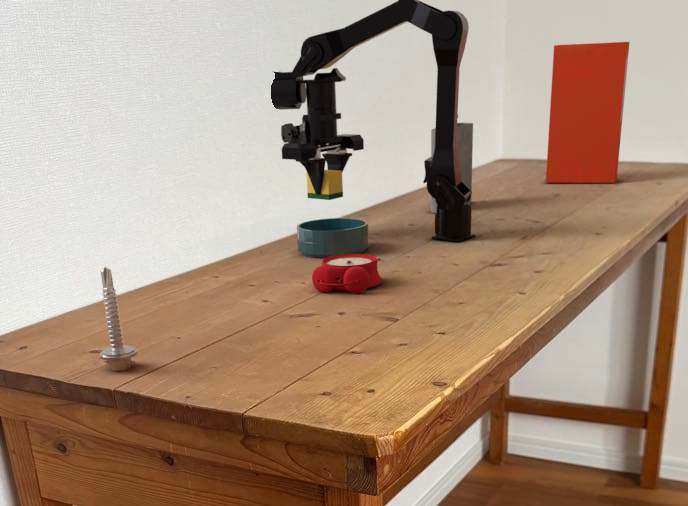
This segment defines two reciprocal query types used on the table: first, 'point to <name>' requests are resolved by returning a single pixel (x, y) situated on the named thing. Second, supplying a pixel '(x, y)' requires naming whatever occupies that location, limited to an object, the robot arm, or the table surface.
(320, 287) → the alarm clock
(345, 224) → the bowl
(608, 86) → the file binder
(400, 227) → the table surface
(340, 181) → the sponge
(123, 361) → the screw
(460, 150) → the hip flask
